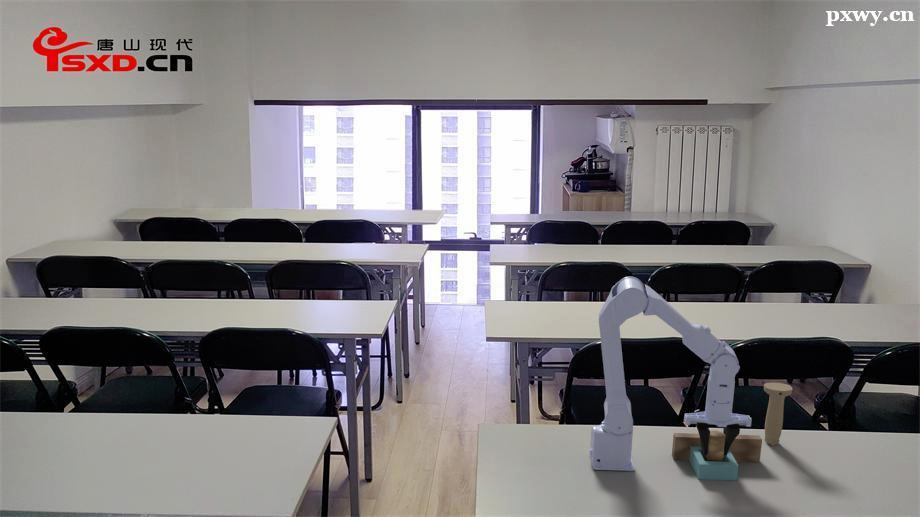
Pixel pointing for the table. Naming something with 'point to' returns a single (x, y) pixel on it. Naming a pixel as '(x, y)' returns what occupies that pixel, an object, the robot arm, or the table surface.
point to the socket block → (713, 466)
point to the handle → (775, 411)
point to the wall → (741, 449)
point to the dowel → (716, 446)
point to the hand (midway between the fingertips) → (714, 453)
